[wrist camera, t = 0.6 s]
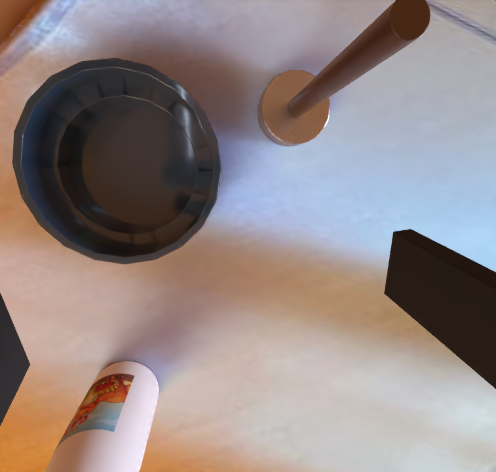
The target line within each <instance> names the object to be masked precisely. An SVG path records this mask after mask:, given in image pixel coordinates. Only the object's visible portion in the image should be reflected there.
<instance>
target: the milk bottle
mask: <svg viewBox="0 0 496 472" xmlns="http://www.w3.org/2000/svg"><path fill="white" fill-rule="evenodd" d="M158 395H159V386H158V382H157V379H156V377H155V376H154V374H153V372H151V371H150V369H149V368H147V367H146V366H144V365H142V364H140V363H137V362H132V361H123V362H118V363H114V364H112V365H110V366H108V367H106V368H105V369H104V370H102V371H101V372H100V373H99V375H98V376H97V378H96V379H95V381H94V382H93V384H92V386H91V387H90V389H89V391H88V393H87V394H86V396H85V398H84V400H83V401H82V403H81V405H80V406H79V408H78V410H77V412H76V413H75V415H74V417H73V419H72V421H71V422H70V424H69V426H68V428H67V430H66V431H65V433H64V435H63V437H62V438H61V440H60V442H59V444H58V446H57V448H56V450H55V452H54V454H53V456H52V458H51V460H50V462H49V465H48V467H47V469H46V472H139V470H140V467H141V463H142V460H143V456H144V452H145V448H146V444H147V440H148V436H149V432H150V428H151V424H152V420H153V416H154V412H155V408H156V404H157V400H158Z"/></svg>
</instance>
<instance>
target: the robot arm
mask: <svg viewBox="0 0 496 472" xmlns="http://www.w3.org/2000/svg"><path fill="white" fill-rule="evenodd" d="M384 294H385V295H387V296H388V297H389V298H390V299H391V300H392V301H394V302H395V303H396V304H397V305H398V306H399V307H401V308H402V309H403V310H404V311H405V312H406V313H408V314H409V315H410V316H411V317H412V318H413V319H415V320H416V321H417V322H418V323H419V324H420V325H422V326H423V327H424V328H425V329H426V330H427V331H429V332H430V333H431V334H432V335H433V336H435V337H436V338H437V339H438V340H439V341H440V342H442V343H443V344H444V345H445V346H446V347H447V348H449V349H450V350H451V351H452V352H453V353H454V354H456V355H457V356H458V357H459V358H460V359H461V360H463V361H464V362H465V363H466V364H467V365H468V366H470V367H471V368H472V369H473V370H474V371H475V372H477V373H478V374H479V375H480V376H481V377H482V378H484V379H485V380H486V381H487V382H488V383H489V384H491V385H492V386H493V387H494V388H495V389H496V272H494V271H492V270H490V269H488V268H486V267H484V266H482V265H480V264H478V263H476V262H474V261H472V260H471V259H469V258H467V257H465V256H463V255H461V254H459V253H457V252H455V251H453V250H451V249H449V248H447V247H445V246H443V245H441V244H439V243H437V242H435V241H433V240H431V239H429V238H427V237H425V236H423V235H421V234H419V233H417V232H416V231H414V230H412V229H409V230H402V231H396V232H393V238H392V245H391V251H390V258H389V265H388V272H387V279H386V285H385V292H384ZM29 366H30V363H29V360H28V358H27V356H26V353H25V351H24V348H23V346H22V344H21V341H20V339H19V336H18V334H17V332H16V329H15V327H14V324H13V322H12V320H11V317H10V315H9V312H8V310H7V308H6V305H5V303H4V300H3V298H2V296H1V293H0V425H1V423H2V421H3V419H4V417H5V415H6V413H7V411H8V409H9V407H10V405H11V403H12V401H13V399H14V397H15V395H16V393H17V391H18V388H19V386H20V384H21V382H22V380H23V378H24V376H25V374H26V372H27V370H28V368H29Z"/></svg>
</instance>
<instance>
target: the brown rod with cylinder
mask: <svg viewBox="0 0 496 472" xmlns="http://www.w3.org/2000/svg"><path fill="white" fill-rule="evenodd" d="M429 22H430V9H429V6H428V4H427V2H426V1H425V0H396V1H395V2H394V3H393V4H392V5H391V6H390V7H389V8H388V9H387V10H385V11H384V12H383V13H382V14H381V15H380V16H379V17H378V18H377V19H376V20H375V21H374V22H373V23H372V24H371V25H370V26H369V27H368V28H366V29H365V30H364V31H363V32H362V33H361V34H360V35H359V36H358V37H357V38H356V39H355V40H354V41H353V42H352V43H351V44H350V45H349V46H347V47H346V48H345V49H344V50H343V51H342V52H341V53H340V54H339V55H338V56H337V57H336V58H335V59H334V60H333V61H332V62H331V63H330V64H329V65H327V66H326V67H325V68H324V69H323V70H322V71H321V72H320V73H319V74H318V75H317V76H316V77H315V76H314V75H312V74H311V73H308V72H306V71H302V70H291V71H287V72H284V73H282V74H280V75H278V76H277V77H275V78H274V79H273V80H272V81H271V82H270V84H269V85H268V87H267V88H266V90H265V91H264V93H263V95H262V97H261V99H260V101H259V105H258V120H259V124H260V127H261V129H262V131H263V132H264V134H265V135H266V136H267V137H268V138H269V139H270V140H271V141H273V142H274V143H276V144H279V145H282V146H296V145H299V144H302V143H305V142H308V141H310V140H312V139H314V138H315V137H316V136H317V135H319V134H320V132H321V131H322V130H323V129H324V127H325V125H326V123H327V121H328V118H329V114H330V100H329V97H330V96H332V95H333V94H335V93H336V92H338V91H339V90H341V89H342V88H344V87H345V86H347V85H348V84H350V83H351V82H353V81H354V80H356V79H357V78H359V77H360V76H362V75H363V74H365V73H366V72H368V71H369V70H371V69H372V68H374V67H375V66H377V65H378V64H380V63H381V62H383V61H384V60H386V59H387V58H389V57H390V56H392V55H393V54H395V53H397V52H398V51H400V50H401V49H403V48H404V47H406V46H407V45H409V44H410V43H412V42H413V41H415V40H416V39H418V38H419V37H421V36H422V35H423V34H424V32H425V31H426V29H427V27H428V25H429Z"/></svg>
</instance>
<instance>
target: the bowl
mask: <svg viewBox="0 0 496 472" xmlns="http://www.w3.org/2000/svg"><path fill="white" fill-rule="evenodd" d="M12 164H13V168H14V171H15V175H16V179H17V182H18V186H19V190H20V193H21V196H22V198H23V200H24V202H25V203H26V205H27V206H28V208H29V209H30V211H31V212H32V214H33V216H34V217H35V219H36V220H37V222H38V223H39V225H40V226H41V227H43V228H44V229H45V230H46V231H47V232H48V233H50V234H51V235H52V236H53V237H54V238H55V239H57V240H58V241H59V242H60V243H61V244H62V245H64V246H65V247H67V248H69V249H71V250H74V251H76V252H78V253H80V254H82V255H84V256H87V257H89V258H91V259H93V260H98V261H105V262H112V263H118V264H131V263H138V262H144V261H151V260H155V259H158V258H160V257H162V256H164V255H166V254H168V253H170V252H172V251H174V250H176V249H178V248H180V247H181V246H183V245H184V244H185V243H186V242H187V241H188V240H189V239H190V238H191V237H192V236H193V235H194V234H195V233H197V232H198V231H199V230H200V229H201V228H202V226H203V225H204V223H205V221H206V219H207V217H208V215H209V214H210V212H211V210H212V208H213V206H214V204H215V202H216V200H217V194H218V188H219V182H220V176H221V163H220V156H219V149H218V142H217V138H216V136H215V134H214V131H213V129H212V127H211V125H210V123H209V121H208V119H207V117H206V115H205V113H204V110H203V109H202V107H201V106H200V105H199V104H198V103H197V102H196V101H195V100H194V99H193V98H192V96H191V95H190V94H189V93H188V92H187V91H186V90H185V89H184V88H183V87H182V86H181V84H179V83H178V82H176V81H174V80H173V79H171V78H169V77H168V76H166V75H164V74H163V73H161V72H159V71H157V70H156V69H154V68H152V67H151V66H148V65H144V64H140V63H135V62H131V61H127V60H122V59H118V58H111V59H101V60H91V61H82V62H79V63H77V64H75V65H73V66H71V67H69V68H67V69H65V70H63V71H60V72H58V73H56V74H54V75H52V76H51V77H49V78H48V79H47V80H46V82H45V83H44V84H43V85H42V86H41V87H40V88H39V89H38V90H37V91H36V92H35V93H34V94H33V95H32V96H31V97H30V98H29V99H28V101H27V103H26V105H25V107H24V110H23V112H22V114H21V117H20V119H19V121H18V124H17V126H16V128H15V131H14V145H13V162H12Z"/></svg>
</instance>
